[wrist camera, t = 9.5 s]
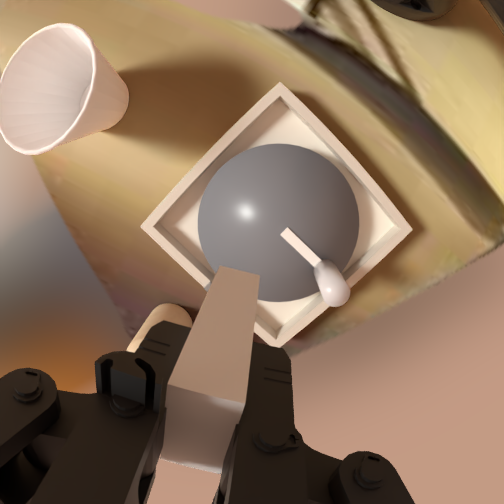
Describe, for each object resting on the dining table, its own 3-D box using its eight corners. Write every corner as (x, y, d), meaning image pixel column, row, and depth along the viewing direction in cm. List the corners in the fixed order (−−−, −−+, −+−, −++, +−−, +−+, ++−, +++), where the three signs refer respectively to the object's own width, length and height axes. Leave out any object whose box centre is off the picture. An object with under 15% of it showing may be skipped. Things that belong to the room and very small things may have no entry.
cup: (169, 74, 31) (124, 39, 19) (120, 168, 34) (57, 177, 22) (91, 44, 29) (32, 13, 17) (49, 130, 32) (-19, 129, 20)
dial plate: (278, 88, 31) (279, 80, 27) (401, 223, 34) (413, 230, 31) (150, 220, 35) (139, 227, 32) (275, 335, 39) (275, 351, 35)
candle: (201, 321, 39) (183, 371, 29) (177, 348, 40) (155, 398, 30) (166, 293, 38) (136, 336, 28) (143, 322, 39) (112, 367, 29)
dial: (171, 225, 34) (145, 245, 26) (275, 112, 30) (278, 98, 23) (279, 320, 37) (282, 361, 29) (383, 221, 33) (413, 240, 25)
